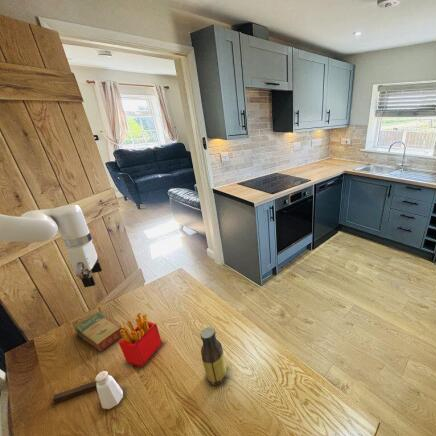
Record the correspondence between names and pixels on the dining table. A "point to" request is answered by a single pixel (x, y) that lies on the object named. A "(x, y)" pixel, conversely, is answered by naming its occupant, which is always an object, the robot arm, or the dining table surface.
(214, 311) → the dining table surface
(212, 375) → the sauce bottle
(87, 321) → the carton
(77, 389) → the rail
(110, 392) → the pepper shaker
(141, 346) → the french fries container
